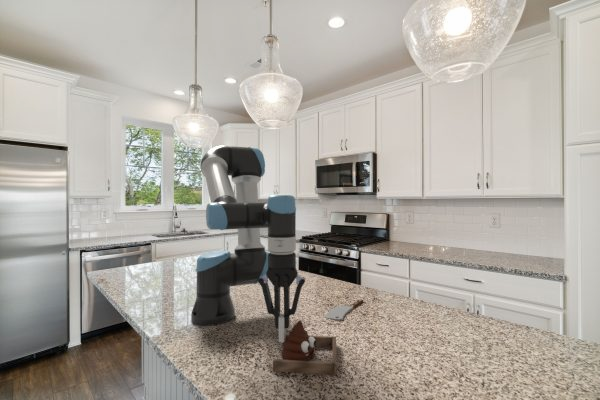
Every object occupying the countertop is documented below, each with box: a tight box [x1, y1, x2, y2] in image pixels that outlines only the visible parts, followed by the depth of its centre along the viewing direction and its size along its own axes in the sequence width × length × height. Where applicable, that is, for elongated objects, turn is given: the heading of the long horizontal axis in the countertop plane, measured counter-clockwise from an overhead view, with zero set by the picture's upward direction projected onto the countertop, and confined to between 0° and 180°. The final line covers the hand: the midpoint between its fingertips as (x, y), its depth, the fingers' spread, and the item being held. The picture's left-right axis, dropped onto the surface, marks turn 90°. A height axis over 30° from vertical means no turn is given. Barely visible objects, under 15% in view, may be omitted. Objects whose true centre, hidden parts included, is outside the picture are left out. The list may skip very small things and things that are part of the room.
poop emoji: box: [280, 319, 316, 361], centre depth 79 cm, size 10×8×9 cm
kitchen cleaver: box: [322, 299, 364, 322], centre depth 114 cm, size 24×1×10 cm
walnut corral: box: [272, 334, 338, 376], centre depth 78 cm, size 16×15×2 cm
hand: (282, 339), depth 79 cm, fingers closed
